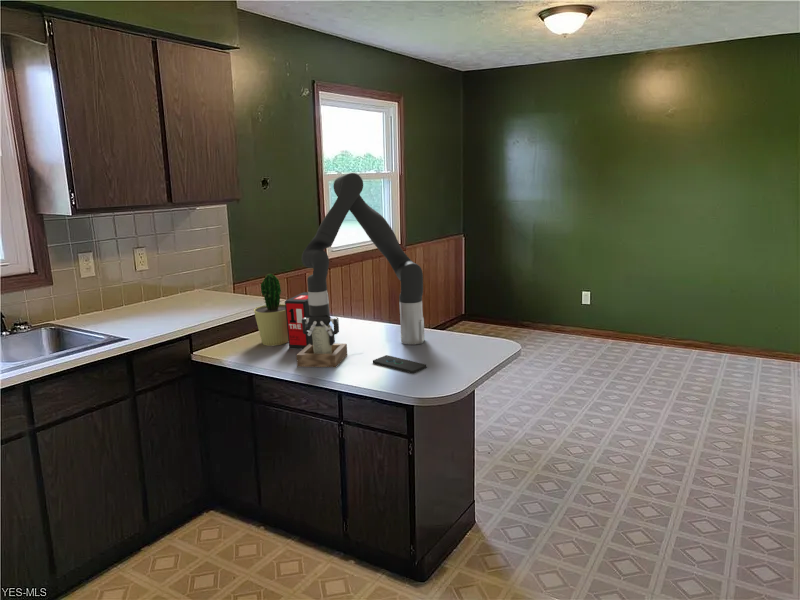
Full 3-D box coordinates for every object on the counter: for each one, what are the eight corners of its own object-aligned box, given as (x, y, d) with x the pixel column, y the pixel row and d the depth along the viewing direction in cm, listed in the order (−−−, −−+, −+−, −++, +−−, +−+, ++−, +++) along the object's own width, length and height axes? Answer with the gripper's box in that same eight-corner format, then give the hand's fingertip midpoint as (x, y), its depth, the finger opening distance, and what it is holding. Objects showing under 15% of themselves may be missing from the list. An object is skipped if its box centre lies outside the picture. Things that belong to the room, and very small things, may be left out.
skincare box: (332, 355, 230) (330, 324, 227) (324, 358, 227) (322, 327, 224) (321, 353, 234) (318, 322, 231) (312, 356, 230) (310, 325, 228)
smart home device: (386, 354, 230) (427, 364, 217) (386, 358, 231) (427, 368, 217) (371, 360, 224) (412, 370, 211) (371, 364, 225) (412, 375, 211)
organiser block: (347, 354, 236) (346, 343, 235) (335, 367, 222) (335, 355, 221) (311, 353, 239) (310, 343, 238) (297, 366, 225) (296, 354, 224)
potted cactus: (267, 336, 268) (261, 269, 261) (299, 337, 264) (293, 269, 257) (250, 346, 253) (242, 276, 247) (283, 347, 249) (277, 276, 242)
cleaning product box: (307, 337, 263) (303, 292, 259) (326, 338, 261) (322, 292, 256) (289, 348, 248) (284, 301, 244) (308, 349, 245) (304, 301, 241)
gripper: (339, 300, 228) (343, 342, 231) (303, 300, 231) (307, 341, 234) (333, 304, 221) (337, 348, 224) (296, 304, 223) (300, 347, 227)
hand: (322, 344), depth 229 cm, fingers closed on skincare box, 7 cm apart
